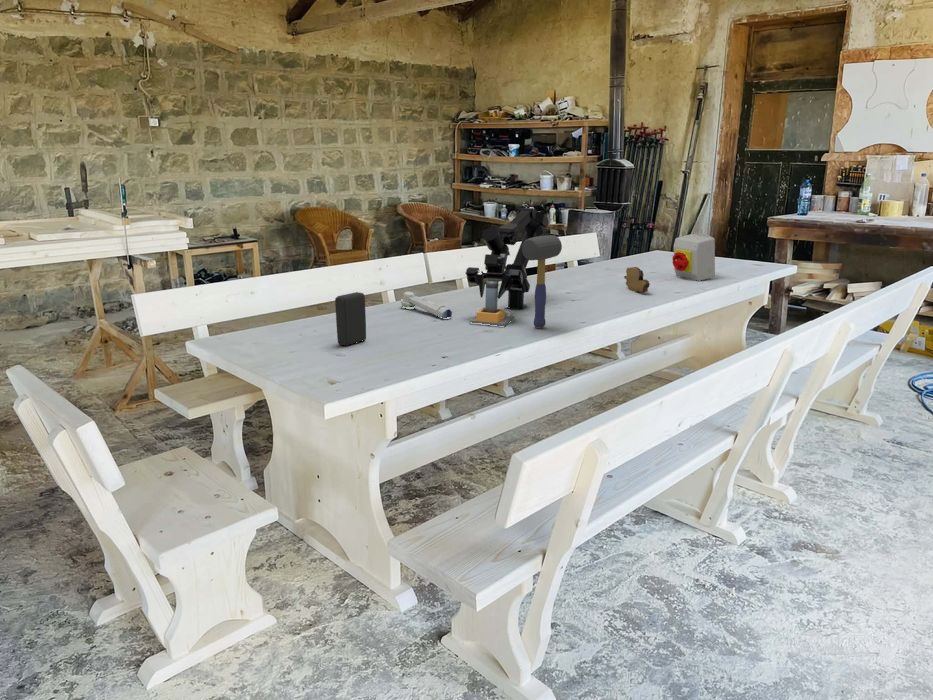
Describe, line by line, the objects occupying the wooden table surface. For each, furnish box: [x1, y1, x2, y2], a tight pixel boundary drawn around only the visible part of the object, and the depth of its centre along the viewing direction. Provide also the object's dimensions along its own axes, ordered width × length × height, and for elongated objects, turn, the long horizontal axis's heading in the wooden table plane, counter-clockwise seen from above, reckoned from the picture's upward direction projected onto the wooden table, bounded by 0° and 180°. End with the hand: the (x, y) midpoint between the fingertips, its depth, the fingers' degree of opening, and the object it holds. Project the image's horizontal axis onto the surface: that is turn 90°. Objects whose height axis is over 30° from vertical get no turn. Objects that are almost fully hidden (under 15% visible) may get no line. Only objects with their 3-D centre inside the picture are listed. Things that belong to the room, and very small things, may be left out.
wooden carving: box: [623, 266, 651, 294], centre depth 281 cm, size 16×5×10 cm, turn 22°
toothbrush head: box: [400, 291, 453, 319], centre depth 246 cm, size 5×7×25 cm
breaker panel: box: [469, 306, 516, 327], centre depth 234 cm, size 12×12×4 cm
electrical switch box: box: [671, 232, 716, 282], centre depth 306 cm, size 15×15×20 cm
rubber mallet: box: [522, 234, 563, 329], centre depth 223 cm, size 12×8×30 cm, turn 133°
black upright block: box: [334, 291, 367, 346], centre depth 208 cm, size 9×4×15 cm, turn 141°
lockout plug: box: [484, 279, 499, 313], centre depth 231 cm, size 4×4×13 cm
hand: (489, 297), depth 229 cm, fingers open, 6 cm apart
